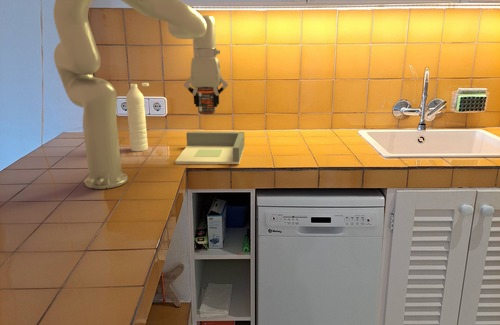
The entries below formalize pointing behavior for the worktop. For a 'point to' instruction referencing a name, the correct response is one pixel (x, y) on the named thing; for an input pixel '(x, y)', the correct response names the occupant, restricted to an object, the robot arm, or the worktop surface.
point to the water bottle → (137, 118)
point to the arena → (212, 148)
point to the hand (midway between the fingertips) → (206, 105)
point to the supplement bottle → (206, 100)
